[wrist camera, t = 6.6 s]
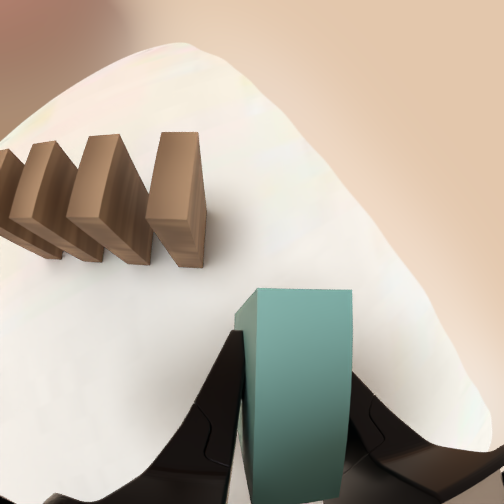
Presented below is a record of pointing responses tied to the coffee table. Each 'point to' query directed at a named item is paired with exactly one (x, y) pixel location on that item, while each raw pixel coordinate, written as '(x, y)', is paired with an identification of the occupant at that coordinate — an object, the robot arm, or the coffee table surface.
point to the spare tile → (295, 393)
